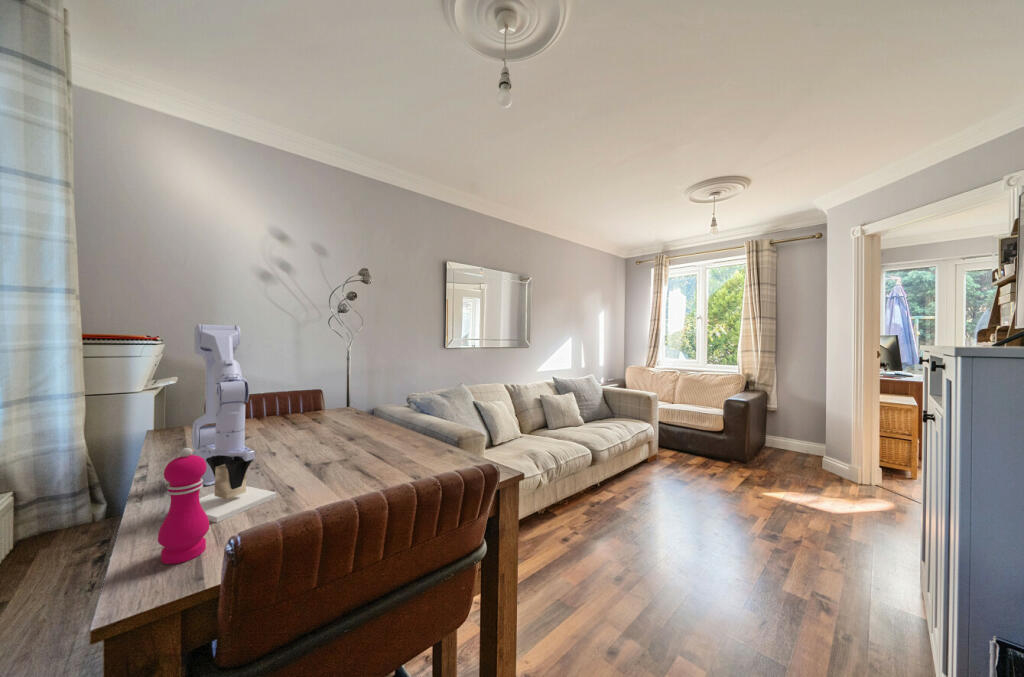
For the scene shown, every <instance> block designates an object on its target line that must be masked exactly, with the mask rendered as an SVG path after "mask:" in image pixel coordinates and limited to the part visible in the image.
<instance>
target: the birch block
mask: <svg viewBox="0 0 1024 677" xmlns="http://www.w3.org/2000/svg"><path fill="white" fill-rule="evenodd" d="M247 472H248V471H246V473H245V476H244V479H243V483H242V486H241V487H238V488H235V489H231V487H230V481H229V473H228V470H227V467H226V466H225V464H224V465H220V466H217V467H216V469H215V484H214V493H215V496H217V497H221V498H225V499H228V498H231V497H234V496H237V495H239V494H242V493H245V492H246V486H247V474H248V473H247Z"/></svg>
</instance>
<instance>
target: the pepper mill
mask: <svg viewBox="0 0 1024 677" xmlns="http://www.w3.org/2000/svg"><path fill="white" fill-rule="evenodd" d="M192 453H193V448H192V447H183V448H182V449H181V450H180V451H179V456H178V457H176V458H174V459H172V460H171V461H169V462H168V463H167V464H166V466H165V467H164V471H163V477H164V480H165V481H166V482H168V483H169V484H168V485H167V486H166V488H167V491H166V493H167V494H168V495H169V496H170V504H169V505H170V506H169V509H168V511H167V514H166V516H165V518H164V520H163V521H162V523H161V525H160V527H159V531H158V534H157V542H158V544H159V545H161V547H163V548H162V549H161V552H160V562H161V563H162V564H166V565H177V564H180V563H184V562H188V561H190V560H193V559H195V558H197V557H199V556H200V555H202V554H203V553H204V552H205V551H206V549H207V546H206V544H207V541H206V538H205V536H206V534H207V533H208V531H209V530H210V521H209V519H208V517H207V515H206V513H205V512H204V510H203V509H202V507H201V504H200V501H199V498H200V491H201V489H202V488H203V486H204V485H203V484H202V482H203V479H201V477H202V476H203V475H204V473H205V472H206V468H207V466H206V462H205V460H204V459H203V458H202V457H200V456H197V455H192Z"/></svg>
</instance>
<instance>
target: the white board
mask: <svg viewBox="0 0 1024 677" xmlns="http://www.w3.org/2000/svg"><path fill="white" fill-rule="evenodd" d="M277 495H278V493H277V492H276V491H272V490H268V489H262V488H257V487H252V486H249V485H246V492H245V493H242V494H239V495H237V496H234V497H231V498H228V499H225V498H221V497H217V496H215V492H212V493H210V494H208V495H205V496H202V497H199V501H200V504H201V507H202V509H203V510H204V512H205V513H206V515H207V517H208V519H209V522H212V523H220V522H223V521H224V520H226V519H227V520H228V519H229V518H232V517H234V516H236V515H238V514H241V513H243V512H245V511H247V510H250V509H252V508H255V507H257V506H259V505H261V504H264V503H266V502H268V501H271V500H275V499H277V497H278V496H277Z"/></svg>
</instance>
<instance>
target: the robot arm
mask: <svg viewBox="0 0 1024 677" xmlns="http://www.w3.org/2000/svg"><path fill="white" fill-rule="evenodd" d="M241 333H242V332H241V328H240V326H238V324H237V325H235V324H234V325H231V324H230V325H229V324H227V325H226V324H225V325H224V324H201V323H197V324H195V326H194V332H193V336H194V351H195V354H196V355H199V356H202V357H203V360H204V363H205V364H204V367H205V375H204V376H205V380H204V381H205V382H204V383H205V386H204V387H205V389H204V390H205V400H204V401H205V405H204V406H205V411H204V412H205V413H204V414H203V415H201V416H200V417H198V418H196V420H194V422H193V423H192V430H191V448H192V449H194V451H192V454H191V455H197V456H200V457H202V458H203V459H204V460H205V462H206V466H207V468H206V472H205V473H204V475H203V476H202V477H201V479H203V482H202V484H203V486H211V485H215V469H216V467H217V466H220V465H224V464H225V466H226V467H227V470H228V473H229V481H230V487H231V489H235V488H238V487H241V486H242V483H243V479H244V476H245V473H246V471H247V470H248V468H249V467H250V466H251V463H252V462H253V461H254V459H256V451H255V450H253V449H251V448H249V447H247V446H246V445H245V443H246V442H245V440H246V439H245V437H246V436H245V435H246V404H247V403H249V397H250V387H249V386H250V385H249V382H248V380H247V379H246V377H243V373H242V369H241V365H240V363H239V362H238V361H237V360H235V359H234V355H235V353H236V351H237V350H238V347H239V345H240V344H241V338H242V335H241ZM247 472H248V471H247Z"/></svg>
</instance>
